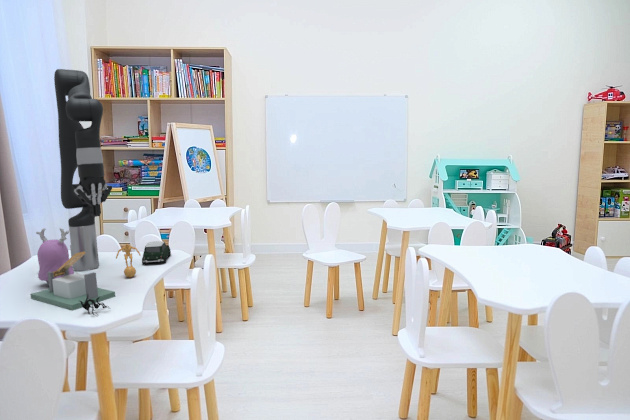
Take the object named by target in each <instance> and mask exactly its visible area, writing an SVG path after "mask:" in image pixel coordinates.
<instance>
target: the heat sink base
mask: <svg viewBox="0 0 630 420" xmlns="http://www.w3.org/2000/svg"><path fill="white" fill-rule="evenodd" d="M47 274H48V283H49V284H48V283H47V284H48V288H46V289H44V290H39V291H36V292H32V293H30V300H31V299H32V300H36V301H40V302H42V303H46V304H50V305H53V306H57V307H60V308H62V309H67V310H71V311H74V310H77V309H81V308H83V307H82V305H81V302H80V301H82V302H83V304H84V303H85V300H86V298H87V294H88V299H87V300H89V299H92V300H94V302H95V303H96V304H97V301H96V299H97V298H99V299H98V302H99V303H100V302H102V301H104V300H105V301H106V300H108V299H111V298H114V297H116V291H114V290H109V289H106V288H100V287H98V283H97V281H98V280H97V273H96V272H94V271H92V272H89V273H86V274H85V273H84V274H83V273H80V272H74V274H71V275H69V269H67V270H66V271H65V274H64V276H63V277H59V278H55V279H54V274H53V272H51V271H50V272H47ZM88 303H89V304H90V305H92V302H91V301H89V302H88Z"/></svg>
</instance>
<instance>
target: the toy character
mask: <svg viewBox="0 0 630 420" xmlns="http://www.w3.org/2000/svg"><path fill="white" fill-rule="evenodd" d="M46 230H47V229H46V228H44V227H43V228H42V229H41V231H36V232H35V234H36V235H39V238H40V240H41V241H42V243H40V245H39V248H38V251H37V262H38V266H39V267H38V268H39V270H38V273H37V276H38V277H37V278H38V279H39V281H44V282H46V283H47V284H48V285H49V283H48V274H47V272H50V271H51V272H54V271H57V270H58V269H59V268H60V267H61V266H62V265H63V264H64V263H66V262H67V261H68V260H69V259H70V257H69V256H70V254H69V249H68V247H67V245H66V244H65V241H66V240H68V238H67V235H68V234H70V232H69V230H66V231H65V230H64V228H61V227H59V231H60V233H61V234H60V236H61V237H60V238H59V239H48V238H47V237H46V236H45V231H46ZM71 274H75V270H73V268H72V266H71V267H70V268H69V275H71ZM63 276H64V275H61V276H57V277H54V279H55V278H59V277H63Z"/></svg>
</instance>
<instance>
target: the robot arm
mask: <svg viewBox="0 0 630 420" xmlns="http://www.w3.org/2000/svg"><path fill="white" fill-rule="evenodd" d="M53 75H54V77H53V79H54V92H55V99H56V108H57V121H58V122H57V123H58V126H57V127H58V144H59V145H58V148H59V158H60V199H61V204H62V206H63V208H64V209H66V210H67V209H69V210H72V209H81V211H80V212H79V213H77V214H76V215H74V216H71V217H69V218H68V231H69V238H70V239H69V240H70V245H69V247H70V249H69V250H70V256H71V257H72V256H73V255H74V254H76V253H80V252H84V251H85V253H86V254H85V255H83V256H82V257H81V258H80V259H79V260H78V261H77V262H75V263H74V264H73V265H72V268H73V271H78V272H81V271H82V272H83V271H90V270H95V269H97V268H99V267H100V260H99V249H98V248H99V247H98V239H97V231H96V221H95V220H96V217H100V216H101V214H102V211H101V210H102V208H101V204H102V203H104V202H106V201H107V199H108V197H109V195H110V194H111V192H112V190H113V186H112V185H109V184H107V183H106V180H105V169H104V168H105V166H104V156H103V152H102V148H101V147H102V146H101V138H100V137H101V136H100V135H101V134H100V130H101V123H102V119H103V113H104V108H103V107H104V106H103V104H102V102H101V101H100V100H98V99H96V98H92V95H91V85H90V79H89V77H88V74H87V72H85V71H83V70H75V69H65V68H58V69H57V68H56V70H55V71H54V74H53ZM66 97H67V98H68V99H67V98H66ZM81 122H91V125H90V126H88V127H86V128H84V126H83V125H82V124H81ZM76 171H77V173H78V174H77V175H78V178H79V182H78V183H74V182H73V181H74V176H75V173H76ZM71 257H70V258H71Z"/></svg>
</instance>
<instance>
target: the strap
mask: <svg viewBox="0 0 630 420" xmlns="http://www.w3.org/2000/svg"><path fill="white" fill-rule="evenodd" d="M85 254H86V253H85V251H84V252H80V253H76V254H74V255H73V256H72V257H69V260H68V261H67V262H66V263H64V264H63V265H62V266H61V267H60V268H59V269H58V270H57V271H54V272H53V274H54V277H57V276H61V275H64V274H65V271H66V270H67V269H69V268H70V267H71V266H72V265H73V264H74V263H75V262H77V261H78V260H79V259H80V258H81V257H82V256H83V255H85Z"/></svg>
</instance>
